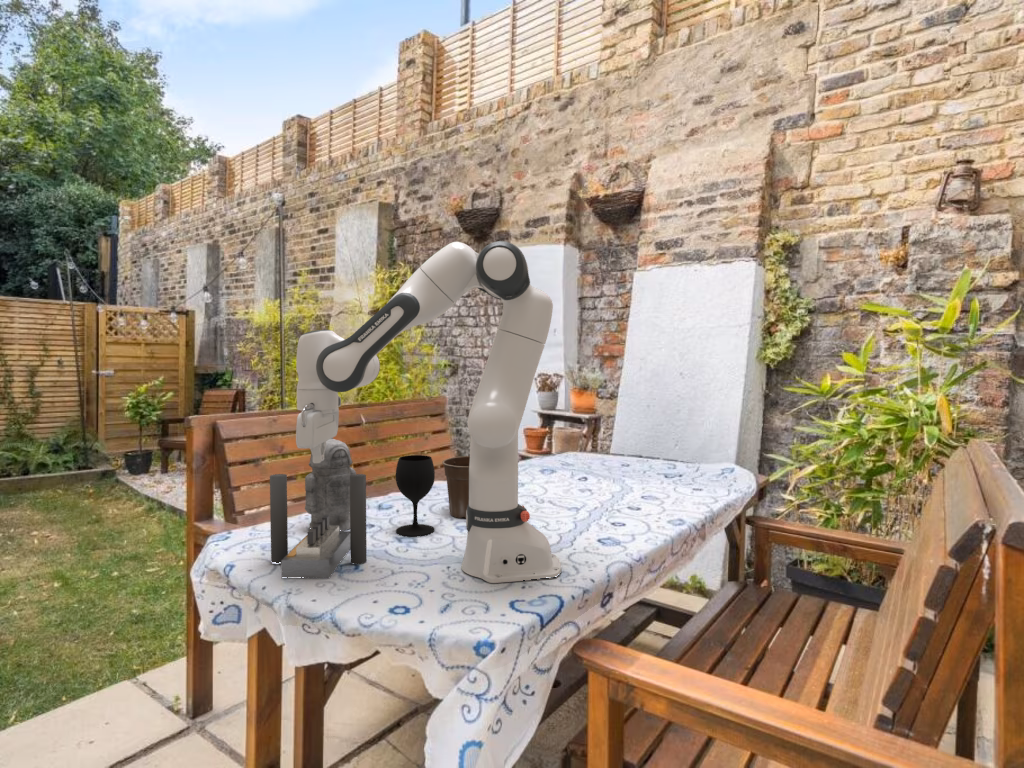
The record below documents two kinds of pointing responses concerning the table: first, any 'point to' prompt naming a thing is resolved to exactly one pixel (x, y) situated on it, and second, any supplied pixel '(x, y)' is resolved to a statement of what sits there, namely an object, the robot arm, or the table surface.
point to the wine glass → (415, 488)
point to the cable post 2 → (358, 519)
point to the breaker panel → (317, 562)
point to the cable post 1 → (278, 517)
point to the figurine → (330, 486)
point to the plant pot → (457, 484)
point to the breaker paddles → (318, 529)
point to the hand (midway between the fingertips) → (318, 462)
